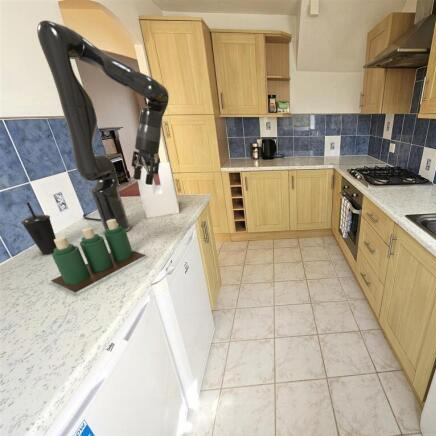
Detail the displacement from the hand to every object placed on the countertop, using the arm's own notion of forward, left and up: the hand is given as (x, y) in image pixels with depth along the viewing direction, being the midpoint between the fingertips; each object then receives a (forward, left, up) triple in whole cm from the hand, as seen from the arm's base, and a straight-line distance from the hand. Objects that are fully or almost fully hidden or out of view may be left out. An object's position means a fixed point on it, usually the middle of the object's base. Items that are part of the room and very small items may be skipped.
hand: (142, 181), depth 92 cm
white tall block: (-28, +25, -25) cm, 45 cm away
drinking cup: (-30, -24, -25) cm, 45 cm away
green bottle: (+2, -16, -23) cm, 28 cm away
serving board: (+2, -23, -24) cm, 33 cm away
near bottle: (+2, -30, -23) cm, 38 cm away
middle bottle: (+2, -23, -23) cm, 33 cm away
